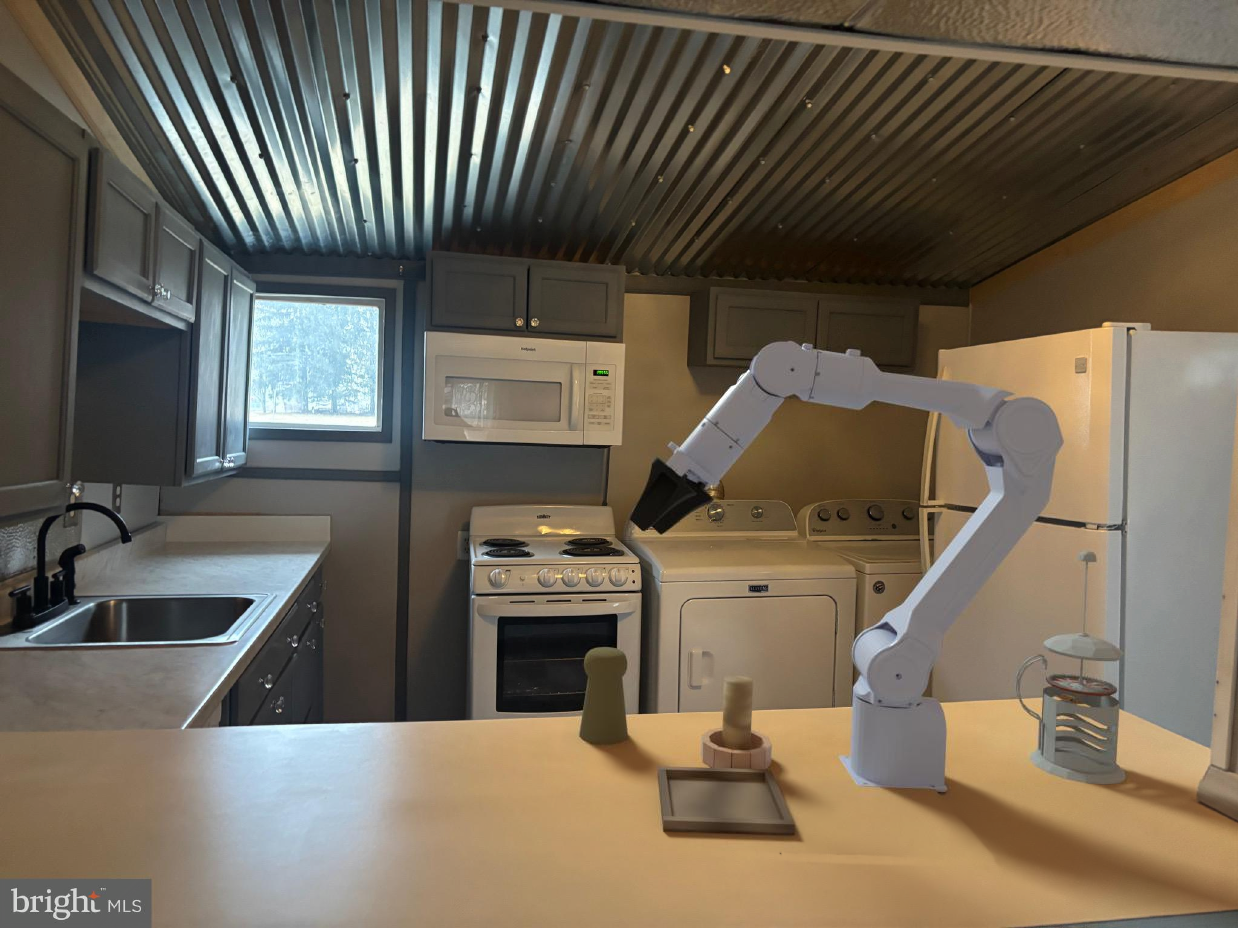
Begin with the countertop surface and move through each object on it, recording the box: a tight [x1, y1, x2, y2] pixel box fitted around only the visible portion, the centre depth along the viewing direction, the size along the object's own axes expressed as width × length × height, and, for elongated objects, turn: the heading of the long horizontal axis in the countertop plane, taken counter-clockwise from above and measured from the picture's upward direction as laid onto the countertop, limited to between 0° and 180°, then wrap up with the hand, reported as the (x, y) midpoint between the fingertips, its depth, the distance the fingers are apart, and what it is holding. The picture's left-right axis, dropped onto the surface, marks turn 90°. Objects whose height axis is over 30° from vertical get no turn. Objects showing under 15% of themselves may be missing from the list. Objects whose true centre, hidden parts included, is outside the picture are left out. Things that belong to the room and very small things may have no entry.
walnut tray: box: [657, 765, 796, 837], centre depth 80 cm, size 12×12×2 cm
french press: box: [1014, 550, 1127, 785], centre depth 93 cm, size 10×12×25 cm
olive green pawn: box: [578, 646, 629, 746], centre depth 97 cm, size 6×6×11 cm
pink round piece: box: [700, 726, 773, 770], centre depth 91 cm, size 8×8×3 cm
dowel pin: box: [721, 675, 754, 750], centre depth 90 cm, size 3×3×9 cm
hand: (645, 527), depth 90 cm, fingers open, 7 cm apart
